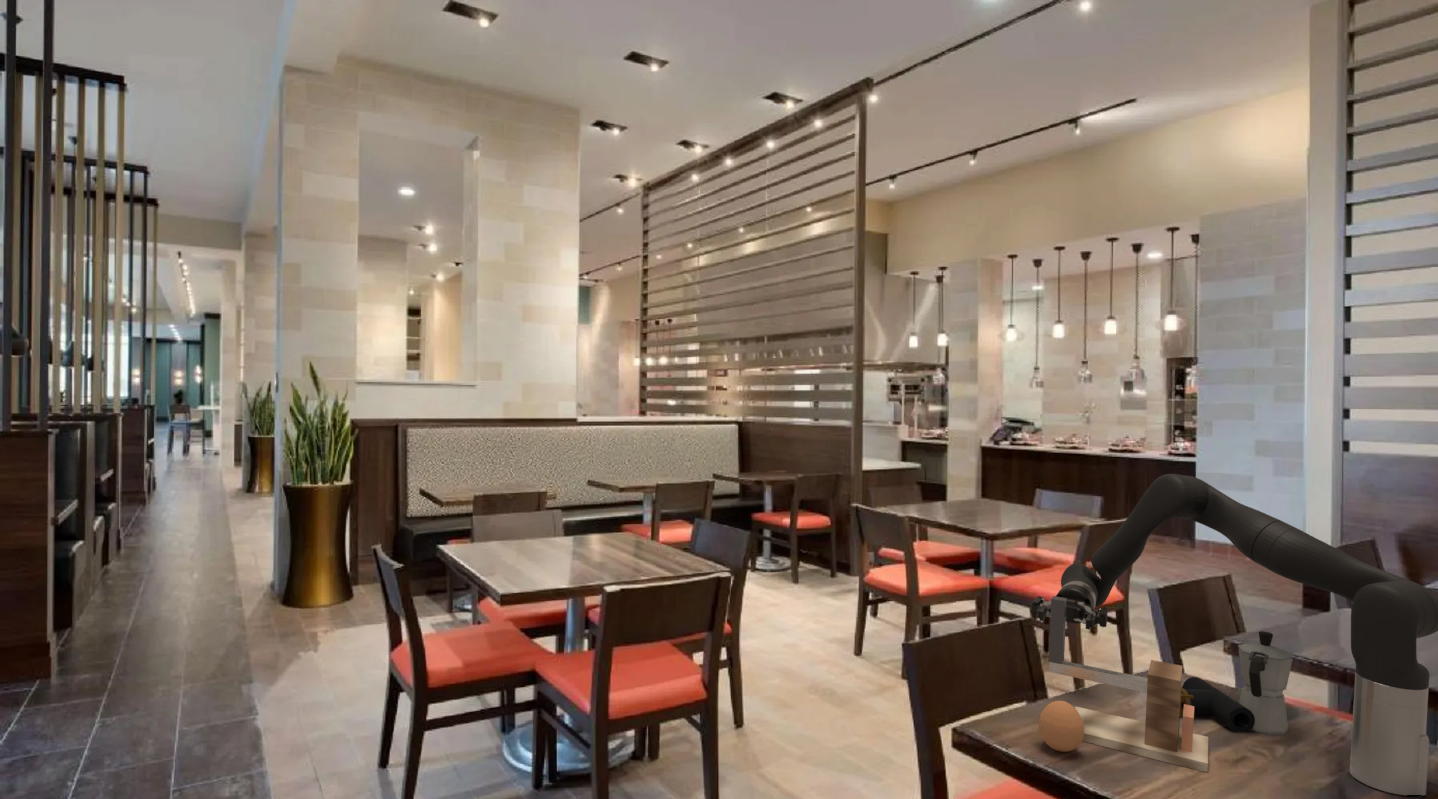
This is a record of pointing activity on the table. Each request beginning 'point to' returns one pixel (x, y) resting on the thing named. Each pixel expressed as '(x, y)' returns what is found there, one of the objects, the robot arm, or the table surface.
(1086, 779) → the table surface
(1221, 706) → the pipe connector
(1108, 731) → the block
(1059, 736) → the egg
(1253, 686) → the coffee maker
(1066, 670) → the gray l-shaped bracket
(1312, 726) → the table surface
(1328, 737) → the table surface
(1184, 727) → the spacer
